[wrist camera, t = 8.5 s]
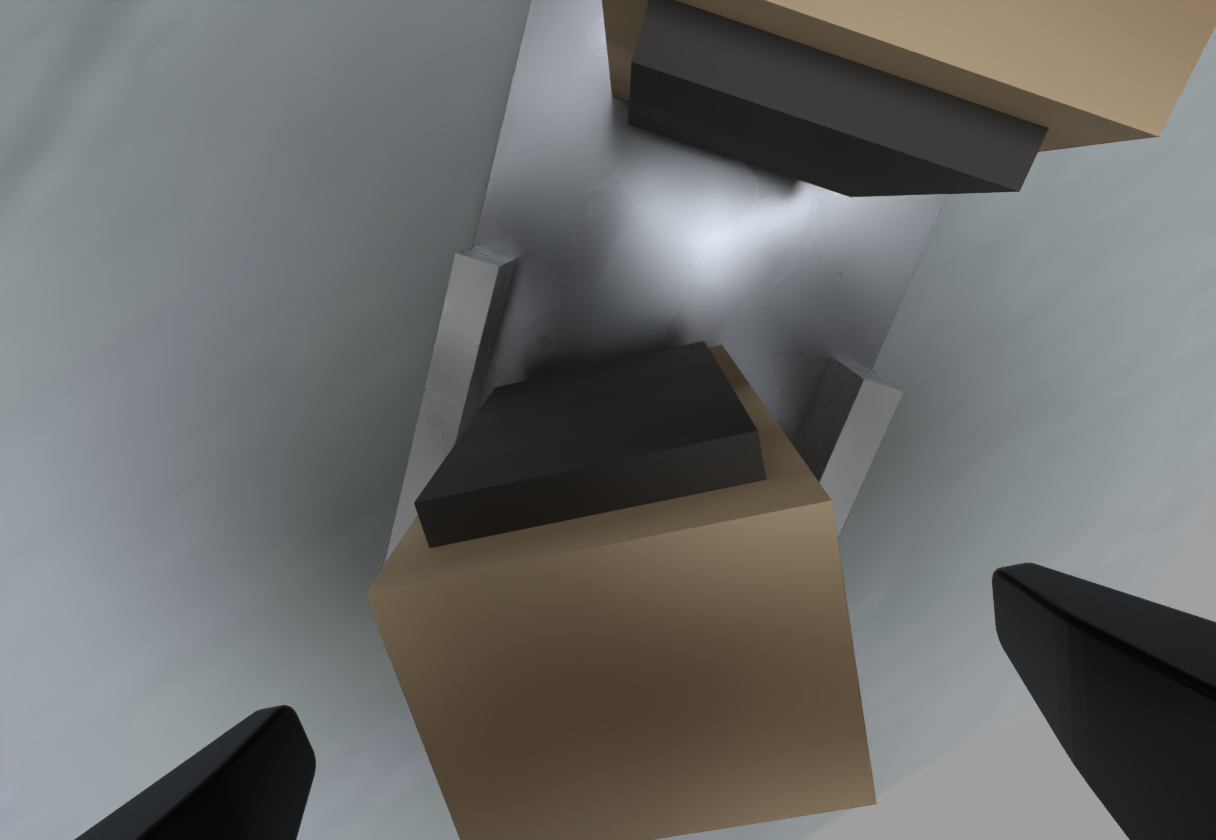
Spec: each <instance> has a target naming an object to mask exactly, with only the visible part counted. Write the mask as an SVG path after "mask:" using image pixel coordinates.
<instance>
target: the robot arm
mask: <svg viewBox="0 0 1216 840" xmlns="http://www.w3.org/2000/svg"><path fill="white" fill-rule="evenodd" d="M992 588H993V600H994V612H995V624H996V631H997V635H998V638H999V641H1000V643H1001V645H1002V647H1003V649H1004V651H1005V653H1006V654H1007V656H1008V657H1009V659H1010V661H1011V662H1012V664H1013V666H1014V667H1015V669H1016V671H1017V672H1018V674H1019V676H1020V677H1021V679H1022V681H1023V682H1024V684H1025V686H1026V687H1027V689H1028V691H1029V692H1030V694H1031V696H1032V697H1033V699H1034V701H1035V702H1036V704H1037V705H1038V707H1039V709H1040V710H1041V712H1042V714H1043V715H1044V717H1045V718H1046V720H1047V722H1048V723H1049V725H1050V727H1051V729H1052V730H1053V732H1054V734H1055V735H1056V737H1057V739H1058V740H1059V742H1060V743H1061V745H1062V747H1063V748H1064V750H1065V751H1066V753H1067V754H1068V756H1069V758H1070V759H1071V761H1072V762H1073V764H1074V765H1075V767H1076V768H1077V770H1078V771H1079V772H1080V774H1081V775H1082V777H1083V778H1084V779H1085V781H1086V782H1087V784H1088V785H1089V786H1090V788H1091V789H1092V790H1093V792H1094V793H1095V794H1096V796H1097V797H1098V798H1099V800H1100V801H1101V802H1102V804H1103V805H1104V806H1105V808H1106V809H1107V810H1108V812H1109V813H1110V814H1111V816H1112V817H1113V818H1114V820H1115V821H1116V822H1117V823H1118V825H1119V826H1120V827H1121V828H1122V830H1123V831H1124V833H1125V834H1126V835H1127V837H1128V838H1129V839H1130V840H1216V622H1213V621H1210V620H1207V619H1204V618H1201V617H1198V616H1195V615H1192V614H1189V613H1186V612H1183V611H1179V610H1176V609H1173V608H1170V607H1167V606H1164V605H1161V604H1158V603H1155V602H1151V601H1149V600H1145V599H1142V598H1139V597H1136V596H1133V595H1130V594H1127V593H1124V592H1121V591H1118V590H1114V589H1111V588H1108V587H1105V586H1102V585H1099V584H1096V583H1093V582H1090V581H1087V580H1084V579H1080V578H1077V577H1074V576H1071V575H1068V574H1065V573H1062V572H1059V571H1056V570H1053V569H1049V568H1046V567H1043V566H1040V565H1037V564H1034V563H1022V564H1017V565H1012V566H1007V567H1002V568H998V569H996V571H995V572H994V573H993V577H992ZM315 768H316V759H315V754H314V751H313V749H312V746H311V744H310V742H309V740H308V738H307V735H306V733H305V731H304V729H303V727H302V724H301V722H300V720H299V718H298V715H297V713H296V712H295V710H294V709H293V708H292V707H290V706H287V705H282V706H276V707H271V708H266V709H260V710H258V711H256V712H254V713H252V714H251V715H250V716H248V717H247V718H245V719H244V720H243V721H241V722H240V723H238V724H237V725H236V726H234V727H233V728H231V729H230V730H228V731H227V732H226V733H224V734H223V735H221V736H220V737H219V738H217V739H216V740H214V741H213V742H212V743H210V744H209V745H207V746H206V747H204V748H203V749H202V750H200V751H199V752H197V753H196V754H195V755H193V756H192V757H190V758H189V759H188V760H186V761H185V762H183V763H182V764H180V765H179V766H178V767H176V768H175V769H173V770H172V771H171V772H169V773H168V774H166V775H165V776H164V777H162V778H161V779H159V780H158V781H156V782H155V783H154V784H152V785H151V786H149V787H148V788H147V789H145V790H144V791H142V792H141V793H140V794H138V795H137V796H135V797H134V798H133V799H131V800H130V801H128V802H127V803H125V804H124V805H123V806H121V807H120V808H118V809H117V810H116V811H114V812H113V813H111V814H110V815H109V816H107V817H106V818H104V819H103V820H101V821H100V822H99V823H97V824H96V825H94V826H93V827H92V828H90V829H89V830H87V831H86V832H85V833H83V834H82V835H80V836H79V837H77V838H76V839H75V840H296V839H297V835H298V832H299V828H300V825H301V821H302V818H303V814H304V810H305V807H306V803H307V800H308V796H309V793H310V789H311V786H312V782H313V779H314V775H315Z"/></svg>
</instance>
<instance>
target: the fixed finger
mask: <svg viewBox="0 0 1216 840" xmlns="http://www.w3.org/2000/svg"><path fill="white" fill-rule="evenodd" d="M602 8H603V17H604V26H605V36H606V45H607V54H608V64H609V73H610V82H611V92H612V96H615V97H618V98H621V99H624V100H627V101H629V115H628V124H629V125H632V126H635V127H638V128H641V129H644V130H647V131H651V132H654V133H657V134H660V135H663V136H666V137H669V138H672V139H675V140H678V141H681V142H684V143H687V144H690V145H693V146H696V147H699V148H702V149H705V150H708V151H711V152H714V153H718V154H721V155H724V156H727V157H730V158H733V159H736V160H739V161H742V162H745V163H748V164H751V165H754V166H757V167H760V168H763V169H766V170H769V171H772V172H775V173H778V174H782V175H785V176H788V177H791V178H794V179H797V180H800V181H803V182H806V183H809V184H812V185H815V186H818V187H821V188H824V189H827V190H830V191H833V192H836V193H839V194H842V195H845V196H849V197H873V196H902V195H932V194H961V193H990V192H1019V191H1020V189H1021V187H1022V185H1023V183H1024V181H1025V178H1026V176H1027V174H1028V172H1029V170H1030V168H1031V166H1032V163H1033V161H1034V159H1035V157H1036V155H1037V153H1038V152H1042V151H1049V150H1057V149H1065V148H1073V147H1081V146H1089V145H1096V144H1104V143H1112V142H1120V141H1128V140H1135V139H1143V138H1151V137H1159V135H1160V133H1161V131H1162V129H1163V127H1164V125H1165V123H1166V121H1167V119H1168V117H1169V115H1170V114H1171V112H1172V110H1173V108H1174V106H1175V104H1176V102H1177V100H1178V98H1179V96H1180V94H1181V92H1182V90H1183V88H1184V86H1185V84H1186V82H1187V80H1188V78H1189V76H1190V75H1191V73H1192V71H1193V69H1194V67H1195V65H1196V63H1197V61H1198V59H1199V57H1200V55H1201V53H1202V51H1203V49H1204V47H1205V45H1206V43H1207V41H1208V39H1209V38H1210V36H1211V34H1212V32H1213V30H1214V28H1215V26H1216V0H602Z"/></svg>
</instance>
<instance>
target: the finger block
mask: <svg viewBox="0 0 1216 840" xmlns="http://www.w3.org/2000/svg"><path fill="white" fill-rule="evenodd" d="M414 505H415V508H416V511H417V516H416V517H415V519H414V520H413V522H412V523H411V525H410V526H409V528H408V529H407V531H406V532H405V534H404V535H403V537H402V538H401V540H400V541H399V543H398V544H397V546H396V547H395V549H394V550H393V552H392V553H391V555H390V556H389V558H388V559H387V561H386V563H385V564H384V566H383V567H382V569H381V570H380V572H379V573H378V575H377V576H376V578H375V579H374V581H373V582H372V584H371V585H370V587H369V588H368V590H367V591H366V593H365V595H366V597H367V600H368V602H369V605H370V608H371V610H372V613H373V615H374V618H375V621H376V623H377V626H378V628H379V631H380V633H381V636H382V639H383V641H384V644H385V646H386V649H387V652H388V654H389V657H390V659H391V662H392V664H393V667H394V670H395V672H396V675H397V677H398V680H399V683H400V685H401V688H402V690H403V693H404V696H405V698H406V701H407V703H408V706H409V708H410V711H411V714H412V716H413V719H414V721H415V724H416V727H417V729H418V732H419V734H420V737H421V740H422V742H423V745H424V747H425V750H426V752H427V755H428V758H429V760H430V763H431V765H432V768H433V771H434V773H435V776H436V778H437V781H438V783H439V786H440V789H441V791H442V794H443V796H444V799H445V802H446V804H447V807H448V809H449V812H450V815H451V817H452V820H453V822H454V825H455V827H456V830H457V833H458V835H459V838H460V840H653V839H660V838H666V837H672V836H679V835H685V834H691V833H698V832H704V831H710V830H717V829H723V828H729V827H735V826H742V825H748V824H754V823H761V822H767V821H773V820H780V819H786V818H792V817H799V816H805V815H811V814H817V813H824V812H830V811H836V810H843V809H849V808H855V807H862V806H868V805H874V804H876V797H875V790H874V784H873V777H872V770H871V763H870V756H869V750H868V743H867V736H866V729H865V722H864V716H863V709H862V702H861V695H860V689H859V682H858V675H857V668H856V661H855V655H854V648H853V641H852V634H851V627H850V621H849V614H848V607H847V600H846V594H845V587H844V580H843V573H842V566H841V560H840V553H839V546H838V539H837V532H836V526H835V519H834V512H833V505H832V500H831V499H830V497H829V496H828V494H827V493H826V491H825V490H824V489H823V487H822V486H821V484H820V483H819V481H818V480H817V479H816V477H815V476H814V474H813V473H812V472H811V470H810V469H809V467H808V466H807V464H806V463H805V462H804V460H803V459H802V457H801V456H800V455H799V453H798V452H797V450H796V449H795V447H794V446H793V445H792V443H791V442H790V440H789V439H788V438H787V436H786V435H785V433H784V432H783V430H782V429H781V428H780V426H779V425H778V423H777V422H776V420H775V419H774V418H773V416H772V415H771V413H770V412H769V411H768V409H767V408H766V406H765V405H764V403H763V402H762V401H761V399H760V398H759V396H758V395H757V394H756V392H755V391H754V389H753V388H752V386H751V385H750V384H749V382H748V381H747V379H746V378H745V376H744V375H743V374H742V372H741V371H740V369H739V368H738V367H737V365H736V364H735V362H734V361H733V359H732V358H731V357H730V355H729V354H728V352H727V351H726V350H725V348H724V347H723V345H719V346H714V347H710V348H708V346H707V344H706V343H705V341H701V342H696V343H692V344H687V345H683V346H678V347H674V348H669V349H665V350H660V351H656V352H651V353H647V354H642V355H638V356H634V357H629V358H625V359H620V360H616V361H611V362H607V363H602V364H598V365H593V366H589V367H584V368H580V369H575V370H571V371H566V372H562V373H558V374H553V375H549V376H544V377H540V378H535V379H531V380H526V381H522V382H517V383H513V384H508V385H504V386H499V387H495V388H494V390H493V391H492V393H491V394H490V395H489V397H488V398H487V400H486V401H485V402H484V404H483V405H482V407H481V408H480V410H479V411H478V412H477V414H476V415H475V417H474V418H473V419H472V421H471V422H470V424H469V425H468V427H467V428H466V429H465V431H464V432H463V434H462V435H461V437H460V438H459V439H458V441H457V442H456V444H455V445H454V446H453V448H452V449H451V451H450V452H449V454H448V455H447V456H446V458H445V459H444V461H443V462H442V463H441V465H440V466H439V468H438V469H437V471H436V472H435V473H434V475H433V476H432V478H431V479H430V481H429V482H428V483H427V485H426V486H425V488H424V489H423V490H422V492H421V493H420V495H419V496H418V498H417V499H416V500H415V502H414Z"/></svg>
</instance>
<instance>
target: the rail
mask: <svg viewBox="0 0 1216 840" xmlns="http://www.w3.org/2000/svg"><path fill="white" fill-rule="evenodd" d="M628 115H629V101H627V100H624V99H621V98H618V97H615V96H612V92H611V82H610V73H609V64H608V54H607V45H606V36H605V26H604V17H603V8H602V0H531V4H530V9H529V13H528V17H527V21H526V26H525V30H524V34H523V38H522V43H521V47H520V51H519V55H518V60H517V64H516V68H515V72H514V77H513V81H512V85H511V89H510V94H509V98H508V102H507V106H506V110H505V115H504V119H503V123H502V127H501V132H500V136H499V140H498V144H497V149H496V153H495V157H494V161H493V166H492V170H491V174H490V178H489V183H488V187H487V191H486V195H485V200H484V204H483V208H482V212H481V216H480V221H479V225H478V229H477V233H476V238H475V242H474V246H473V248H472V249H468V250H465V251H461V252H458V253H455V258H454V262H453V266H452V271H451V275H450V280H449V284H448V288H447V293H446V297H445V301H444V306H443V310H442V314H441V319H440V323H439V328H438V332H437V336H436V341H435V345H434V349H433V354H432V358H431V363H430V367H429V371H428V376H427V380H426V384H425V389H424V393H423V398H422V402H421V406H420V411H419V415H418V419H417V424H416V428H415V433H414V437H413V441H412V446H411V450H410V454H409V459H408V463H407V468H406V472H405V476H404V481H403V485H402V489H401V494H400V498H399V503H398V507H397V511H396V516H395V520H394V524H393V529H392V533H391V538H390V542H389V546H388V551H387V555H386V559H385V563H386V561H387V559H388V558H389V556H390V555H391V553H392V552H393V550H394V549H395V547H396V546H397V544H398V543H399V541H400V540H401V538H402V537H403V535H404V534H405V532H406V531H407V529H408V528H409V526H410V525H411V523H412V522H413V520H414V519H415V517H416V516H417V511H416V508H415V505H414V502H415V500H416V499H417V498H418V496H419V495H420V493H421V492H422V490H423V489H424V488H425V486H426V485H427V483H428V482H429V481H430V479H431V478H432V476H433V475H434V473H435V472H436V471H437V469H438V468H439V466H440V465H441V463H442V462H443V461H444V459H445V458H446V456H447V455H448V454H449V452H450V451H451V449H452V448H453V446H454V445H455V444H456V442H457V441H458V439H459V438H460V437H461V435H462V434H463V432H464V431H465V429H466V428H467V427H468V425H469V424H470V422H471V421H472V419H473V418H474V417H475V415H476V414H477V412H478V411H479V410H480V408H481V407H482V405H483V404H484V402H485V401H486V400H487V398H488V397H489V395H490V394H491V393H492V391H493V390H494V388H495V387H499V386H504V385H508V384H513V383H517V382H522V381H526V380H531V379H535V378H540V377H544V376H549V375H553V374H558V373H562V372H566V371H571V370H575V369H580V368H584V367H589V366H593V365H598V364H602V363H607V362H611V361H616V360H620V359H625V358H629V357H634V356H638V355H642V354H647V353H651V352H656V351H660V350H665V349H669V348H674V347H678V346H683V345H687V344H692V343H696V342H701V341H705V343H706V344H707V346H708V348H710V347H714V346H719V345H723V347H724V348H725V350H726V351H727V352H728V354H729V355H730V357H731V358H732V359H733V361H734V362H735V364H736V365H737V367H738V368H739V369H740V371H741V372H742V374H743V375H744V376H745V378H746V379H747V381H748V382H749V384H750V385H751V386H752V388H753V389H754V391H755V392H756V394H757V395H758V396H759V398H760V399H761V401H762V402H763V403H764V405H765V406H766V408H767V409H768V411H769V412H770V413H771V415H772V416H773V418H774V419H775V420H776V422H777V423H778V425H779V426H780V428H781V429H782V430H783V432H784V433H785V435H786V436H787V438H788V439H789V440H790V442H791V443H792V445H793V446H794V447H795V449H796V450H797V452H798V453H799V455H800V456H801V457H802V459H803V460H804V462H805V463H806V464H807V466H808V467H809V469H810V470H811V472H812V473H813V474H814V476H815V477H816V479H817V480H818V481H819V483H820V484H821V486H822V487H823V489H824V490H825V491H826V493H827V494H828V496H829V497H830V499H831V500H832V505H833V512H834V519H835V526H836V532H837V538H838V536H839V534H840V532H841V530H842V527H843V525H844V523H845V521H846V519H847V516H848V514H849V512H850V510H851V508H852V505H853V503H854V501H855V499H856V497H857V494H858V492H859V490H860V488H861V486H862V483H863V481H864V479H865V477H866V475H867V472H868V470H869V468H870V466H871V464H872V461H873V459H874V457H875V455H876V453H877V450H878V448H879V446H880V444H881V442H882V439H883V437H884V435H885V433H886V431H887V428H888V426H889V424H890V422H891V420H892V417H893V415H894V413H895V411H896V409H897V406H898V404H899V402H900V400H901V398H902V396H903V393H904V391H902V390H901V389H899V388H898V387H896V386H895V385H893V384H892V383H890V382H889V381H887V380H886V379H884V378H883V377H881V376H880V375H878V374H877V373H875V372H874V371H872V370H871V369H872V367H873V365H874V362H875V360H876V358H877V356H878V353H879V351H880V349H881V346H882V344H883V342H884V339H885V337H886V335H887V333H888V330H889V328H890V326H891V323H892V321H893V319H894V316H895V314H896V312H897V310H898V307H899V305H900V303H901V300H902V298H903V296H904V293H905V291H906V289H907V287H908V284H909V282H910V280H911V277H912V275H913V273H914V270H915V268H916V266H917V264H918V261H919V259H920V257H921V254H922V252H923V250H924V247H925V245H926V243H927V241H928V238H929V236H930V234H931V231H932V229H933V227H934V224H935V222H936V220H937V218H938V215H939V213H940V211H941V208H942V206H943V204H944V201H945V199H946V197H947V195H948V194H932V195H902V196H873V197H849V196H845V195H842V194H839V193H836V192H833V191H830V190H827V189H824V188H821V187H818V186H815V185H812V184H809V183H806V182H803V181H800V180H797V179H794V178H791V177H788V176H785V175H782V174H778V173H775V172H772V171H769V170H766V169H763V168H760V167H757V166H754V165H751V164H748V163H745V162H742V161H739V160H736V159H733V158H730V157H727V156H724V155H721V154H718V153H714V152H711V151H708V150H705V149H702V148H699V147H696V146H693V145H690V144H687V143H684V142H681V141H678V140H675V139H672V138H669V137H666V136H663V135H660V134H657V133H654V132H651V131H647V130H644V129H641V128H638V127H635V126H632V125H629V124H628Z"/></svg>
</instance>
